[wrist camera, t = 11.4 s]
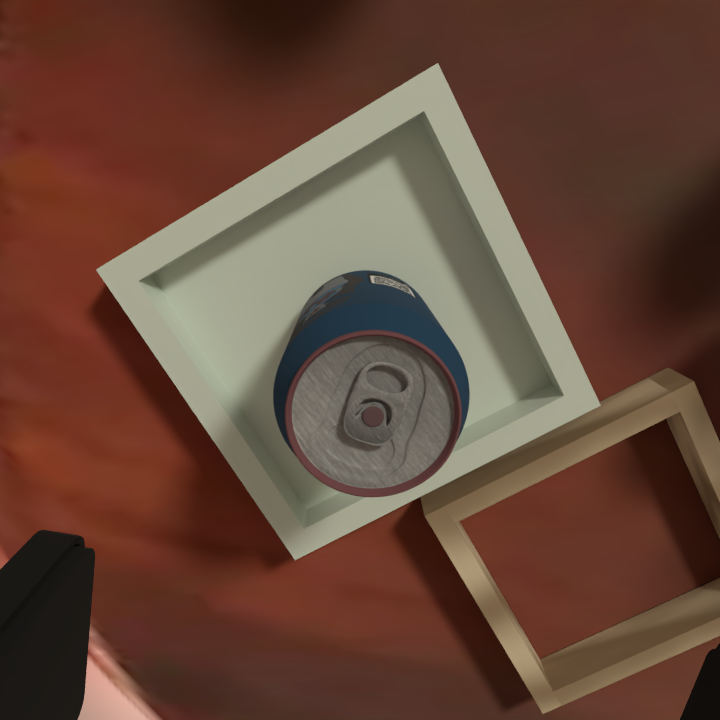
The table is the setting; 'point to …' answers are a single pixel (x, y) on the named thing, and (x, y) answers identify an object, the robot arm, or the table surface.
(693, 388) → the oak frame
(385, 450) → the soda can
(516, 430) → the sage dish
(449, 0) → the table surface
